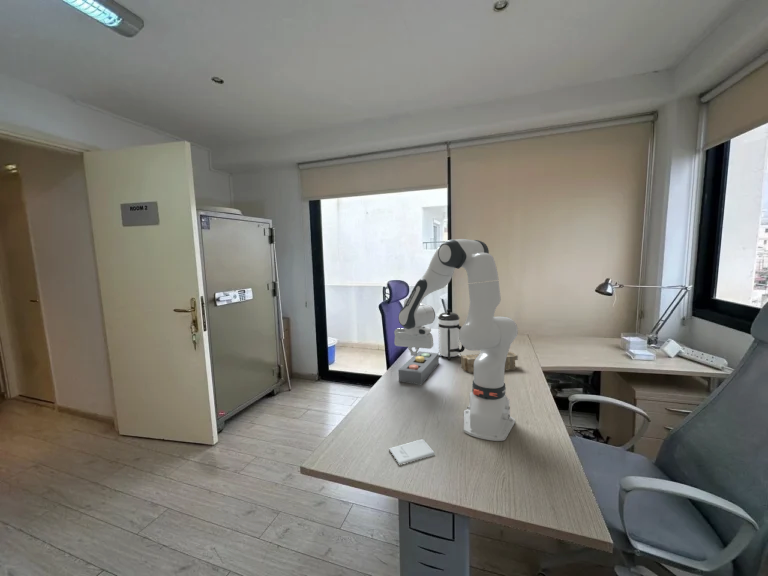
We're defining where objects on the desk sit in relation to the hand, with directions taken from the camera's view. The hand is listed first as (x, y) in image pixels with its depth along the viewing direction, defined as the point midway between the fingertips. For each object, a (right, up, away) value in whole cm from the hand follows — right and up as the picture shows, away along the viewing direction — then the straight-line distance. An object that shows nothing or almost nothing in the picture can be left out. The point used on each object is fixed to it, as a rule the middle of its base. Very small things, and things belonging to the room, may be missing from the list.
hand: (414, 355), depth 159 cm
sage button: (+9, -6, +19) cm, 22 cm away
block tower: (+43, -10, +12) cm, 45 cm away
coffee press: (+26, -8, +33) cm, 43 cm away
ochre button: (+4, -5, +10) cm, 12 cm away
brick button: (0, -8, +1) cm, 8 cm away
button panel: (+4, -11, +11) cm, 16 cm away
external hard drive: (-7, -20, -58) cm, 62 cm away
